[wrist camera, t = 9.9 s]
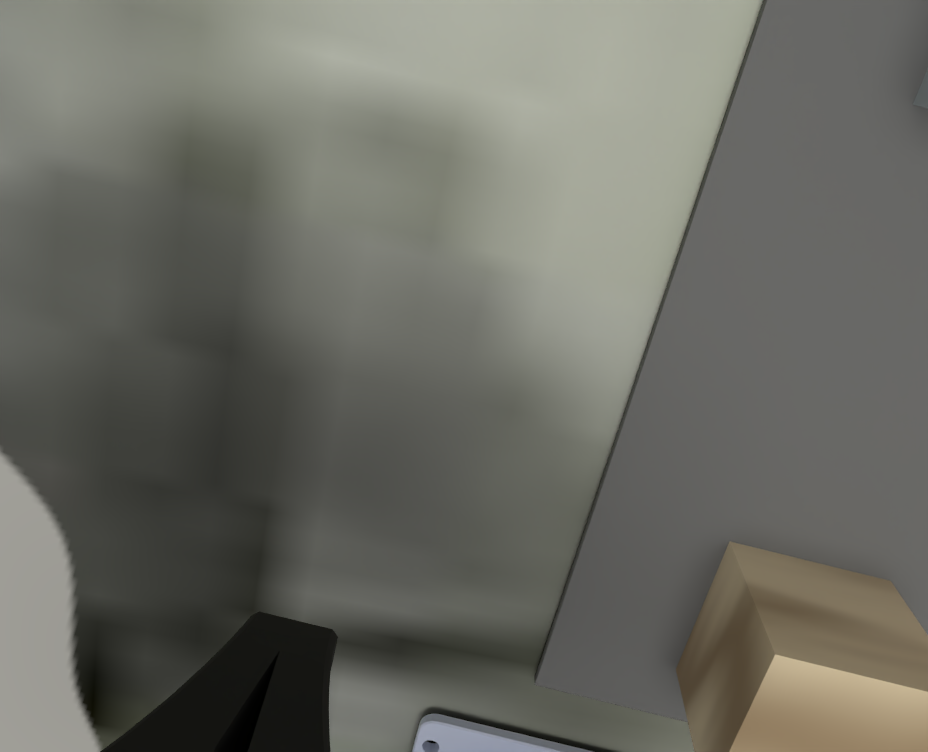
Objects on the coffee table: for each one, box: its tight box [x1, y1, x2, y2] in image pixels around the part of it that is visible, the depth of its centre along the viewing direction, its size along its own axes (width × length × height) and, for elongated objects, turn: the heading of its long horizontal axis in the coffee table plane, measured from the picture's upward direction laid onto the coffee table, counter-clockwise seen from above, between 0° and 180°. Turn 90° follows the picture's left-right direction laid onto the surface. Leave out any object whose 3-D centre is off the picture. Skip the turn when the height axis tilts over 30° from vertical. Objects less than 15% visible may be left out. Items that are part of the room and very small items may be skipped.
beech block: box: [676, 541, 928, 752], centre depth 21 cm, size 4×4×4 cm
